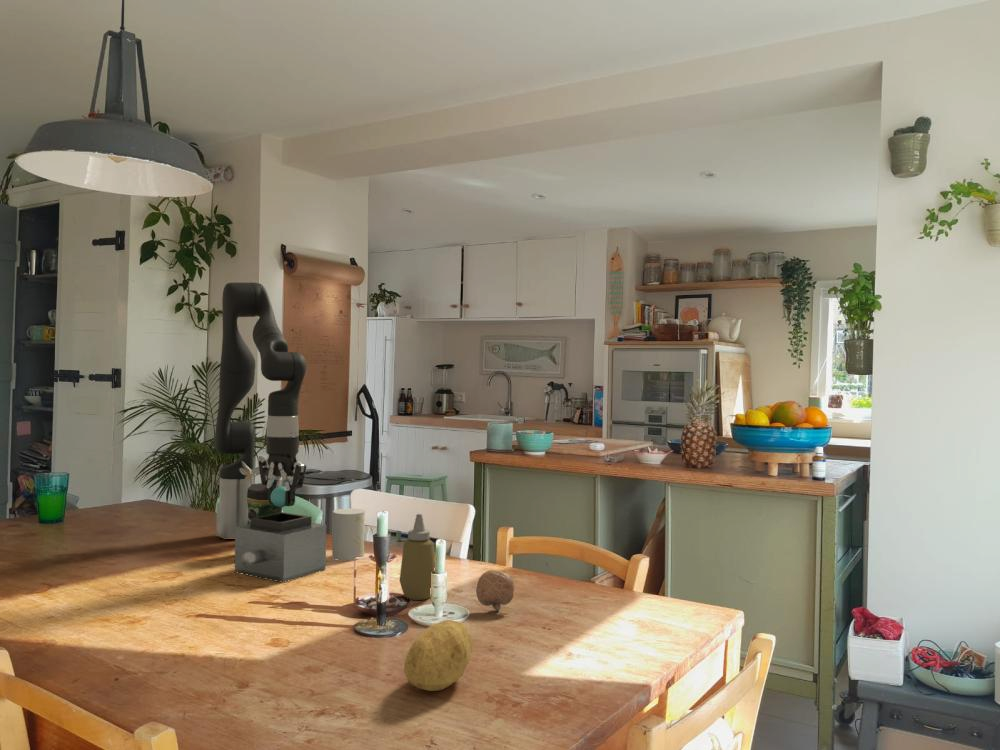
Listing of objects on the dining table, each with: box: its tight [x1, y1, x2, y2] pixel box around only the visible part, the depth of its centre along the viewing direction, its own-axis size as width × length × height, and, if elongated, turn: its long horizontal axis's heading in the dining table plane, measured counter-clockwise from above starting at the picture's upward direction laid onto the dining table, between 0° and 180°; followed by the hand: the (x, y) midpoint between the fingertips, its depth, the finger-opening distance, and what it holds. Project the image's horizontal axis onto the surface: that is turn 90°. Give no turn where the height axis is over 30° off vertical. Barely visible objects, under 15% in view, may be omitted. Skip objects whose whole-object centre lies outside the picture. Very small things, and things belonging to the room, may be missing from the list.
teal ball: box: [271, 485, 287, 508], centre depth 190 cm, size 5×5×5 cm
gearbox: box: [234, 511, 327, 583], centre depth 188 cm, size 16×18×13 cm
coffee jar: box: [247, 482, 283, 524], centre depth 207 cm, size 10×8×19 cm
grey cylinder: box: [331, 507, 366, 561], centre depth 205 cm, size 8×8×12 cm
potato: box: [403, 619, 473, 692], centre depth 124 cm, size 10×14×10 cm
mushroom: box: [475, 569, 515, 612], centre depth 162 cm, size 8×6×8 cm
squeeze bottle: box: [399, 513, 436, 601], centre depth 171 cm, size 8×8×18 cm
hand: (281, 504), depth 190 cm, fingers closed on teal ball, 5 cm apart
